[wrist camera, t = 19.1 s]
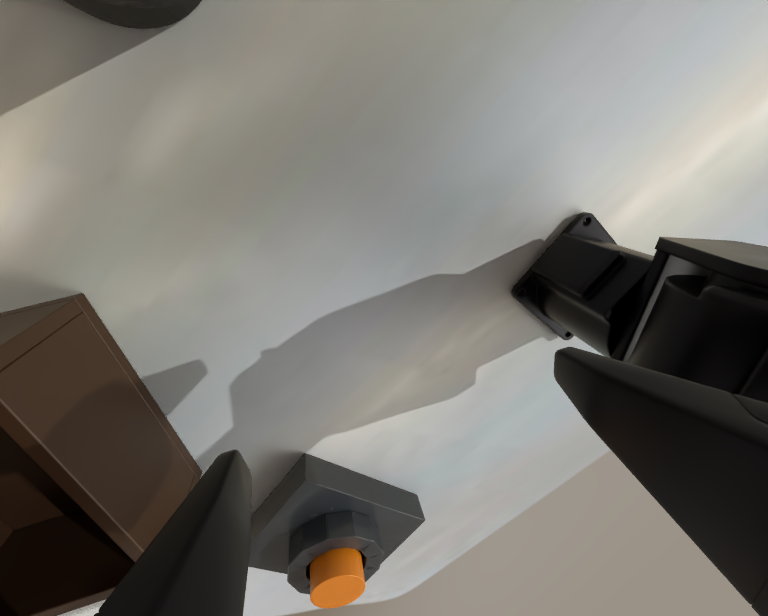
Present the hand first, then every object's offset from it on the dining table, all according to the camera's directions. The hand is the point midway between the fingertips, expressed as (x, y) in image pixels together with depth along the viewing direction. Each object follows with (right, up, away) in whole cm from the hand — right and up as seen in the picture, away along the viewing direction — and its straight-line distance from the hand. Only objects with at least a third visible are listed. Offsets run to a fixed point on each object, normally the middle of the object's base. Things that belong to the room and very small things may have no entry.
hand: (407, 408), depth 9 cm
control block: (-5, -14, +18) cm, 23 cm away
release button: (-4, -15, +14) cm, 21 cm away
